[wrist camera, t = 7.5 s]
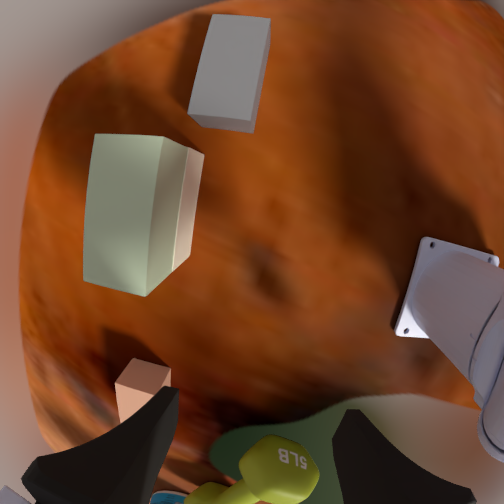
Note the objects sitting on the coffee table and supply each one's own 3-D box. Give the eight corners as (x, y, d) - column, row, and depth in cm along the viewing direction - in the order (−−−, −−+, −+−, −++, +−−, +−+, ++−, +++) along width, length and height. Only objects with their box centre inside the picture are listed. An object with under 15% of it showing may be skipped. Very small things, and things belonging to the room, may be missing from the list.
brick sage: (188, 148, 15) (163, 136, 11) (171, 272, 16) (145, 296, 12) (131, 143, 15) (95, 133, 11) (119, 260, 16) (83, 280, 12)
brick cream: (204, 154, 19) (189, 147, 15) (190, 255, 20) (172, 271, 16) (157, 150, 19) (132, 142, 15) (144, 246, 20) (119, 260, 16)
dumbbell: (258, 419, 23) (254, 480, 16) (323, 444, 24) (332, 499, 17) (184, 481, 27) (172, 524, 20) (238, 500, 27) (234, 542, 20)
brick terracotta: (171, 367, 23) (156, 395, 19) (170, 420, 24) (159, 448, 20) (133, 356, 23) (114, 382, 19) (137, 410, 24) (123, 436, 20)
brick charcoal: (270, 46, 17) (270, 18, 13) (253, 134, 18) (250, 120, 14) (221, 41, 17) (212, 14, 13) (202, 127, 18) (187, 113, 14)
